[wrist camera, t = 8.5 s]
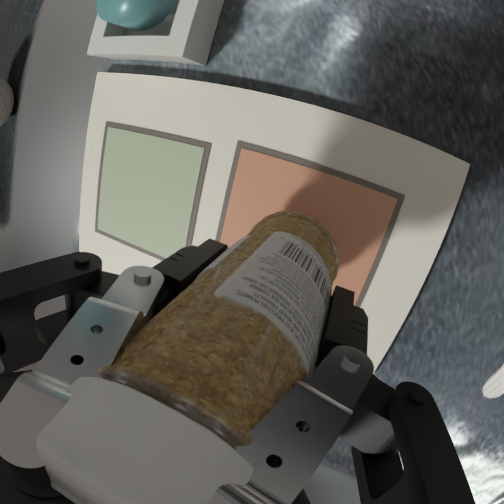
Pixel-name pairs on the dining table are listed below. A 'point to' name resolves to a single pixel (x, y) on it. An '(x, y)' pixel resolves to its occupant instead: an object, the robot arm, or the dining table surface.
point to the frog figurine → (5, 101)
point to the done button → (135, 12)
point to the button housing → (162, 36)
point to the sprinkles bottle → (199, 375)
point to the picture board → (262, 184)
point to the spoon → (494, 384)
